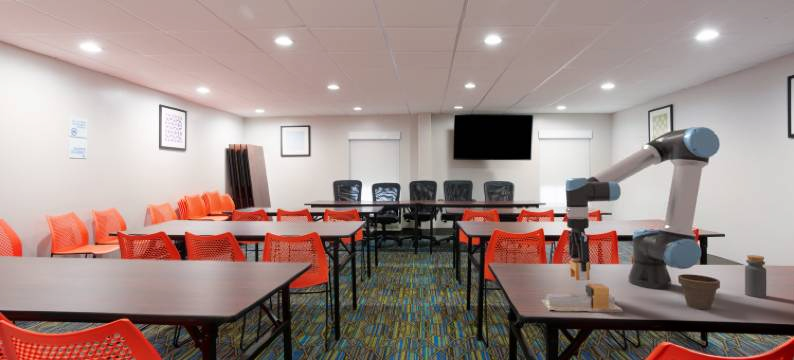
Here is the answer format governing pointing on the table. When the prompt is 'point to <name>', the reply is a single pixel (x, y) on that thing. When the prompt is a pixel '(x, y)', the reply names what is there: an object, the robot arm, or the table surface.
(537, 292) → the table surface
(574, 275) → the orange cube
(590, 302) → the rail
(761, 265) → the bottle
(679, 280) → the flower pot
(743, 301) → the table surface
